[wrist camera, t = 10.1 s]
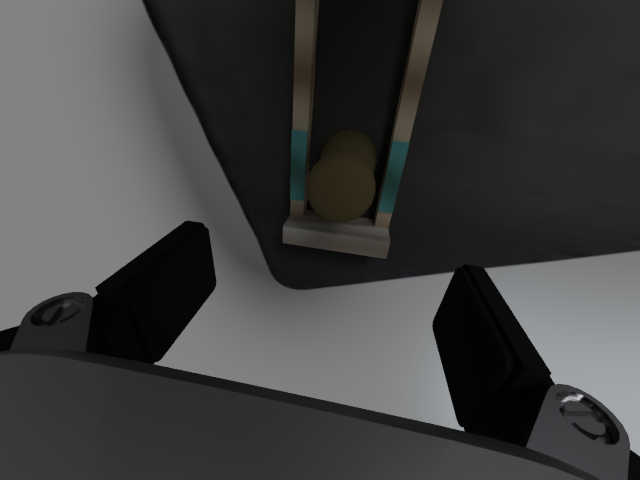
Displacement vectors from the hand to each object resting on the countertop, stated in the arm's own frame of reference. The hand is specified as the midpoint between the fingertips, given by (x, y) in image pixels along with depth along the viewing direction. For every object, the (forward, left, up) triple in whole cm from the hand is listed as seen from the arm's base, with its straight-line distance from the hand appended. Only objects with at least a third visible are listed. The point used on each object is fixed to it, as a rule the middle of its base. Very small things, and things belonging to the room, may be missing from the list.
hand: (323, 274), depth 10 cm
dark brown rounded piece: (0, 0, -21) cm, 21 cm away
